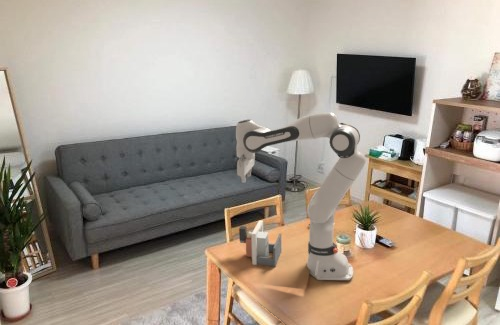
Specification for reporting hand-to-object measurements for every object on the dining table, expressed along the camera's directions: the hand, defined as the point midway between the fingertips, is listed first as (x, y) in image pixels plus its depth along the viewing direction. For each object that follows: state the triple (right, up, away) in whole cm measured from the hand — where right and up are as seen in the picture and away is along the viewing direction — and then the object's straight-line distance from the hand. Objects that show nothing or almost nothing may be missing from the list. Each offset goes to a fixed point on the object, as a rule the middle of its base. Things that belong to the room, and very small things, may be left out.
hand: (246, 179), depth 193 cm
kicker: (0, -38, +5) cm, 39 cm away
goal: (+11, -40, +2) cm, 41 cm away
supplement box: (+7, -40, +3) cm, 41 cm away
